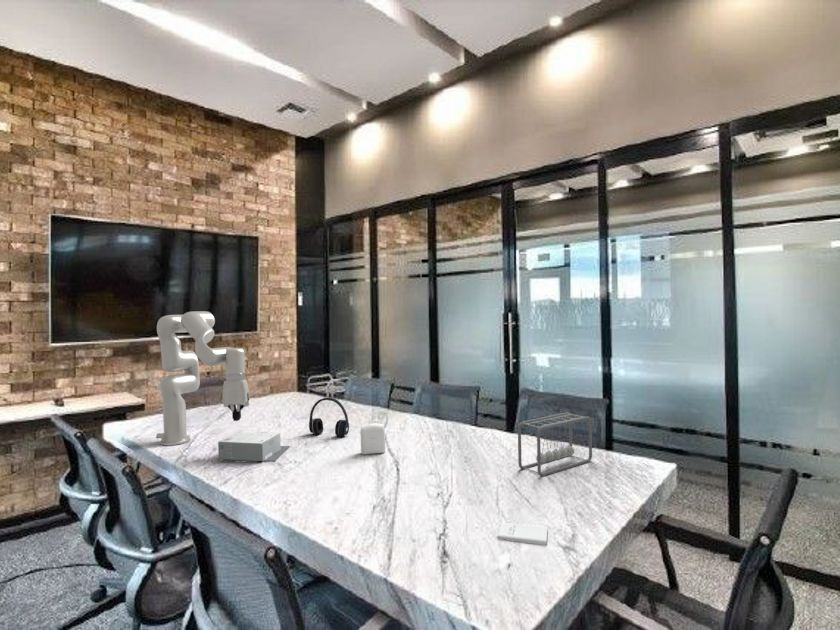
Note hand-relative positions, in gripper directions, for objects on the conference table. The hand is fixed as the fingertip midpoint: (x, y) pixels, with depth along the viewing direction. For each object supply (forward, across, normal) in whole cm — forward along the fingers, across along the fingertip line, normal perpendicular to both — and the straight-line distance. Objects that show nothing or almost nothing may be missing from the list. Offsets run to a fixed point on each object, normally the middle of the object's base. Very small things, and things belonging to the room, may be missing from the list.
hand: (236, 420), depth 200 cm
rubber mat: (+15, +8, 0) cm, 17 cm away
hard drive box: (+10, -4, 0) cm, 11 cm away
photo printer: (+15, +58, 0) cm, 60 cm away
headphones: (+15, +33, +28) cm, 46 cm away
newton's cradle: (+15, +130, -18) cm, 132 cm away
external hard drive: (+15, +107, -72) cm, 130 cm away
